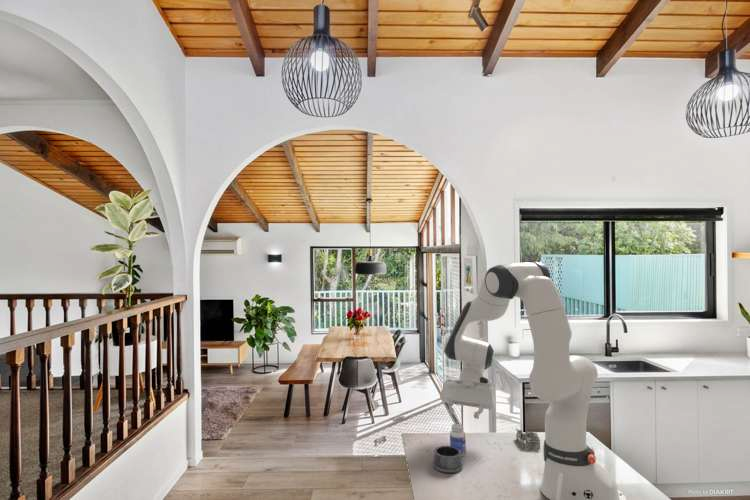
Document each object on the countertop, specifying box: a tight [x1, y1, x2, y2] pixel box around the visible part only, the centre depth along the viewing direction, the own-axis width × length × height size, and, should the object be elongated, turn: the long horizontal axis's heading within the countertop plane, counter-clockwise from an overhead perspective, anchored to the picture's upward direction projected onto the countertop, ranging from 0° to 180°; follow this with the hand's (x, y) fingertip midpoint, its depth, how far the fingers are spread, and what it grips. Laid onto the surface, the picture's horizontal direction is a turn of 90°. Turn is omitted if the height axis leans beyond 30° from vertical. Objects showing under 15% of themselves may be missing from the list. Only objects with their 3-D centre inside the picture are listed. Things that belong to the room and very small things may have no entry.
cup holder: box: [432, 445, 464, 475], centre depth 144 cm, size 10×10×5 cm
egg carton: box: [515, 427, 541, 451], centre depth 162 cm, size 11×8×4 cm
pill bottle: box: [449, 423, 467, 457], centre depth 154 cm, size 5×5×10 cm
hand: (463, 415), depth 160 cm, fingers open, 8 cm apart
